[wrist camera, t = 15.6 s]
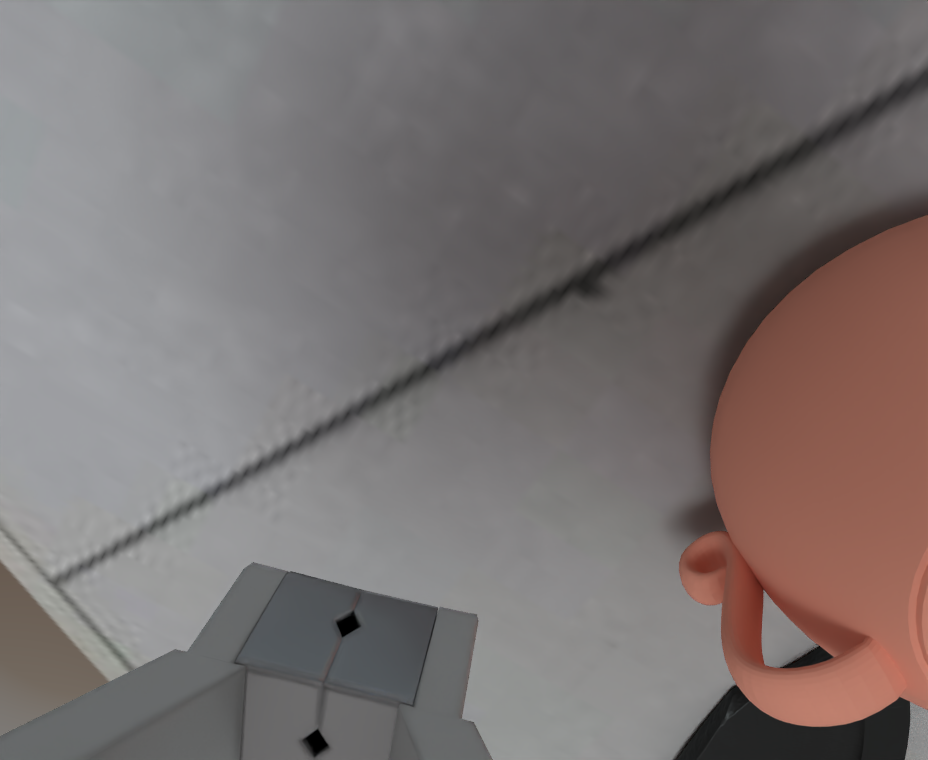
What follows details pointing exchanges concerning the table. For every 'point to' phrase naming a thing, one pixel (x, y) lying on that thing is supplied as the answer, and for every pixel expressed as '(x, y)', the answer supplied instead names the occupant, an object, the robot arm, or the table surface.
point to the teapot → (828, 488)
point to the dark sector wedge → (798, 732)
